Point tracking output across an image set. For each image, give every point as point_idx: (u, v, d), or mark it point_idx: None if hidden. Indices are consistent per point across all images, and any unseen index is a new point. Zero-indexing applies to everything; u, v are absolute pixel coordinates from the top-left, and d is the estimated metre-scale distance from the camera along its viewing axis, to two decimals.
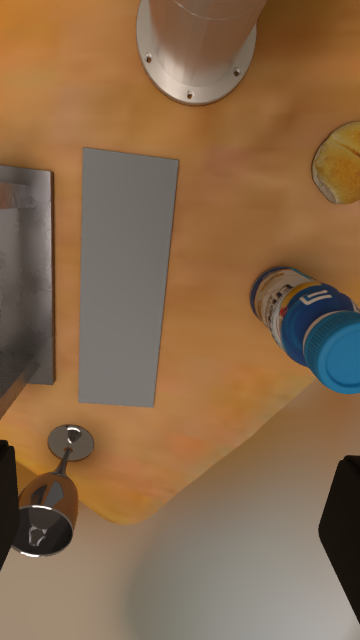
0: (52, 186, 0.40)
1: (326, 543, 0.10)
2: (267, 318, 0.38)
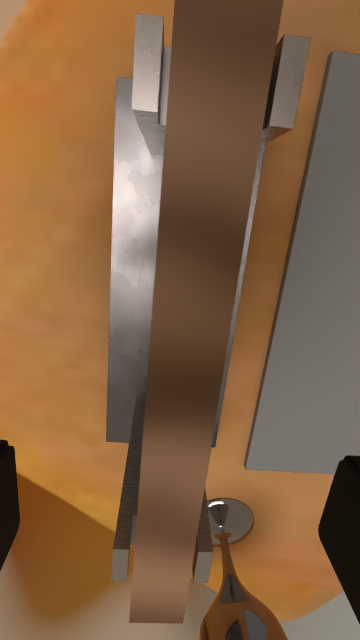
0: None
1: (326, 543, 0.10)
2: None
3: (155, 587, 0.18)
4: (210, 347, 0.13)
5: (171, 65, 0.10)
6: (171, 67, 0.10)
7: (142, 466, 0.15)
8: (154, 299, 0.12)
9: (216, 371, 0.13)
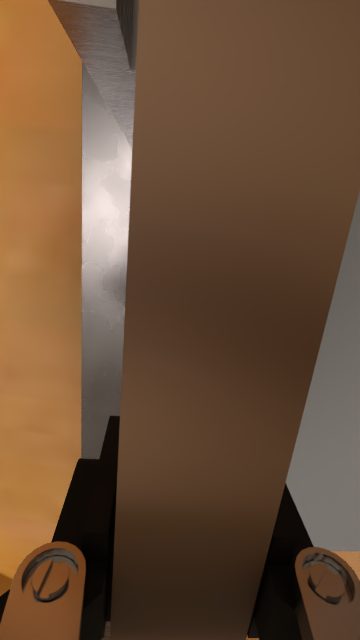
0: None
1: None
2: None
3: None
4: (239, 527, 0.06)
5: None
6: None
7: None
8: (122, 445, 0.06)
9: (251, 565, 0.07)
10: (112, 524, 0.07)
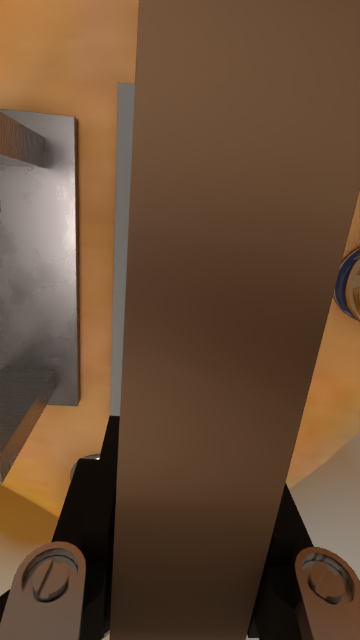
0: (76, 140, 0.29)
1: None
2: None
3: None
4: (239, 530, 0.06)
5: None
6: None
7: None
8: (121, 448, 0.06)
9: (250, 567, 0.07)
10: (112, 524, 0.07)
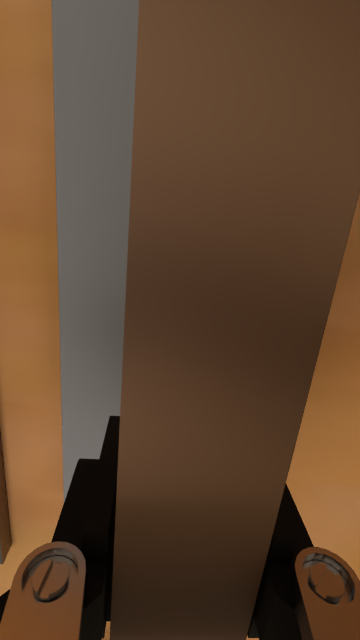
0: None
1: None
2: None
3: None
4: (239, 531, 0.06)
5: None
6: None
7: None
8: (121, 450, 0.06)
9: (250, 568, 0.07)
10: (112, 524, 0.07)
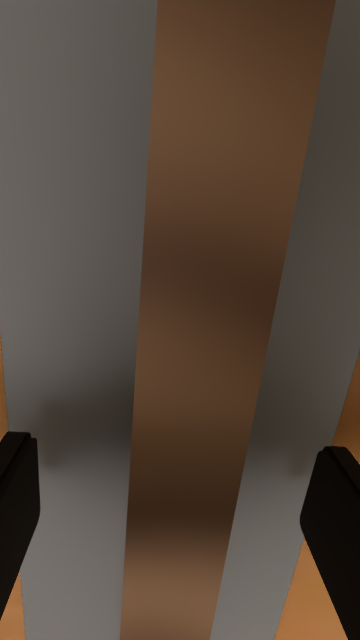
0: None
1: (306, 532, 0.10)
2: None
3: None
4: (223, 441, 0.09)
5: None
6: None
7: (124, 598, 0.10)
8: (137, 375, 0.08)
9: (232, 473, 0.09)
10: None
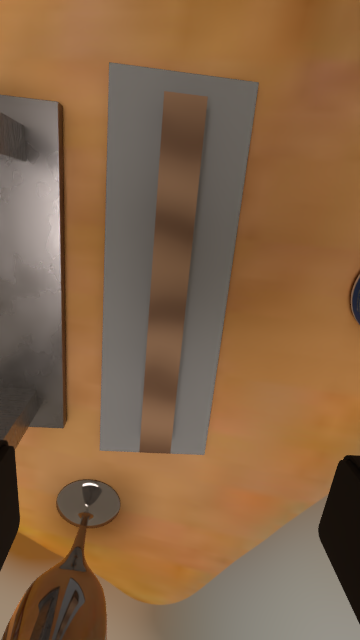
0: (61, 129, 0.26)
1: (326, 543, 0.10)
2: None
3: (154, 426, 0.32)
4: (180, 281, 0.27)
5: (160, 156, 0.24)
6: (160, 157, 0.24)
7: (147, 347, 0.29)
8: (153, 256, 0.26)
9: (183, 293, 0.28)
10: None
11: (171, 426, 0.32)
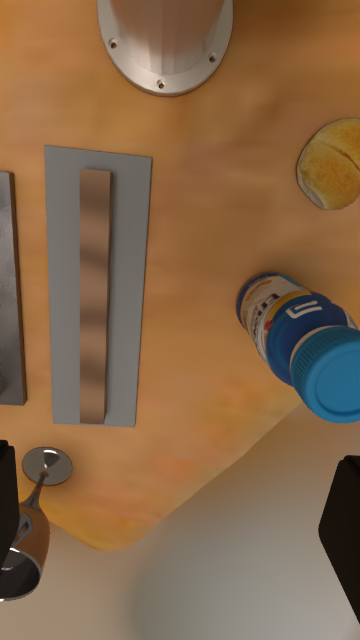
0: (13, 189, 0.36)
1: (326, 543, 0.10)
2: (252, 331, 0.34)
3: (90, 403, 0.42)
4: (101, 296, 0.38)
5: (80, 211, 0.35)
6: (80, 211, 0.35)
7: (80, 344, 0.39)
8: (80, 279, 0.37)
9: (104, 305, 0.38)
10: None
11: (102, 403, 0.42)
